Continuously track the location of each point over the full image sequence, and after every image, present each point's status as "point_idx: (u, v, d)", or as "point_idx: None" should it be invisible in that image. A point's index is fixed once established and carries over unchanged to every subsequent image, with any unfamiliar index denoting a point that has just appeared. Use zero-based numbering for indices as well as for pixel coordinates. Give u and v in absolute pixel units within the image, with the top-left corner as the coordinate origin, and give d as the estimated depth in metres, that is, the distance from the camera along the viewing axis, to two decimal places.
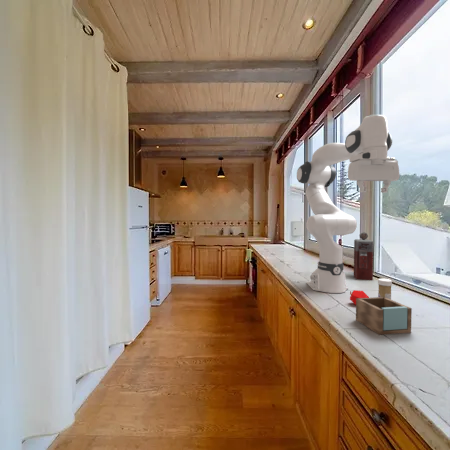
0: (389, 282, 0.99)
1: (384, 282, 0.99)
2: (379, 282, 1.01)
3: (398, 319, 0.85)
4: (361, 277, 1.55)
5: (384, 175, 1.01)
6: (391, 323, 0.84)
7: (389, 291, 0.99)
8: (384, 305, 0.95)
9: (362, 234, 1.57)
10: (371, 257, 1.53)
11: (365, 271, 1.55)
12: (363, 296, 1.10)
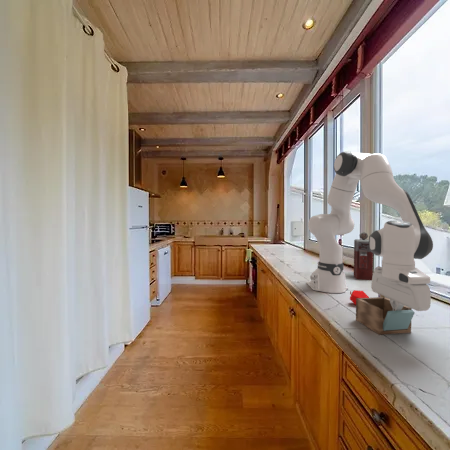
0: None
1: None
2: None
3: (401, 322, 0.83)
4: (361, 277, 1.55)
5: None
6: (393, 325, 0.83)
7: None
8: (384, 305, 0.95)
9: (362, 234, 1.57)
10: (371, 257, 1.53)
11: (365, 271, 1.55)
12: (363, 296, 1.10)
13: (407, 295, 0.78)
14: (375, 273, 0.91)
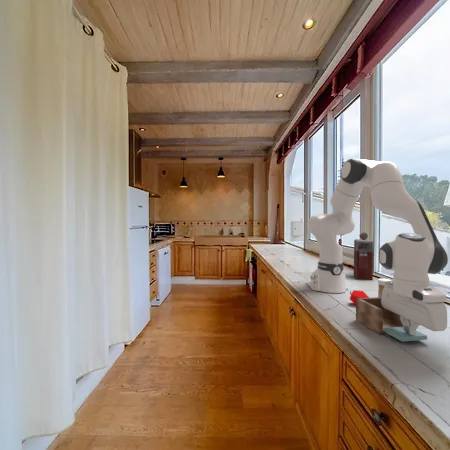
0: None
1: (384, 282, 0.99)
2: (379, 282, 1.01)
3: None
4: (361, 277, 1.55)
5: None
6: None
7: None
8: None
9: (362, 234, 1.57)
10: (371, 257, 1.53)
11: (365, 271, 1.55)
12: (363, 296, 1.10)
13: (421, 314, 0.73)
14: (385, 288, 0.86)
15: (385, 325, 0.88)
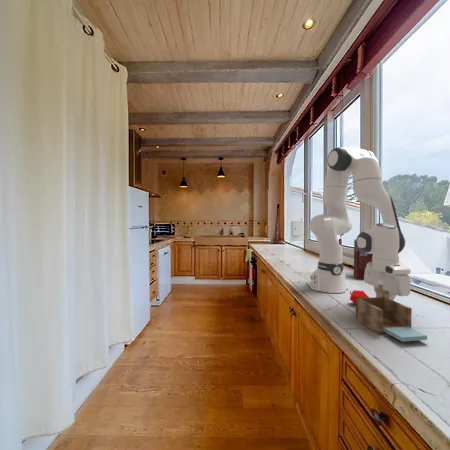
0: None
1: None
2: (379, 282, 1.01)
3: None
4: (361, 277, 1.55)
5: None
6: None
7: None
8: (384, 305, 0.95)
9: None
10: (371, 257, 1.53)
11: None
12: (363, 296, 1.10)
13: (392, 284, 0.95)
14: (367, 267, 1.09)
15: (385, 325, 0.88)
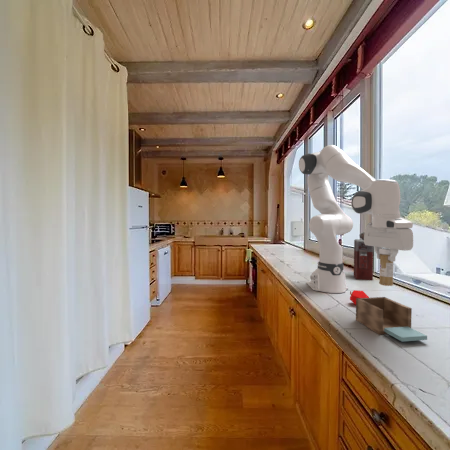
0: None
1: (385, 251, 0.95)
2: (380, 251, 0.97)
3: None
4: (361, 277, 1.55)
5: None
6: None
7: None
8: (384, 305, 0.95)
9: (362, 234, 1.57)
10: (371, 257, 1.53)
11: (365, 271, 1.55)
12: (363, 296, 1.10)
13: (393, 239, 0.90)
14: (367, 228, 1.04)
15: (385, 325, 0.88)
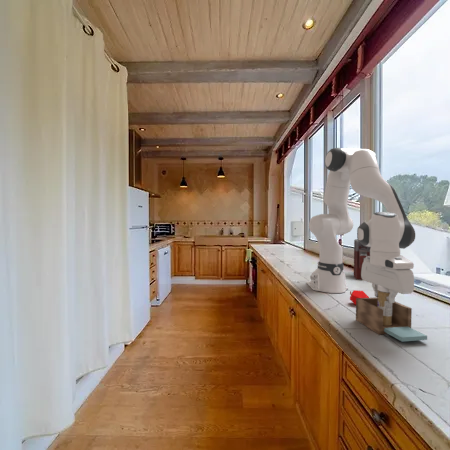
0: None
1: (383, 288, 0.88)
2: (378, 288, 0.90)
3: None
4: (361, 277, 1.55)
5: None
6: None
7: None
8: None
9: None
10: None
11: None
12: (363, 296, 1.10)
13: (393, 280, 0.83)
14: (364, 262, 0.97)
15: None
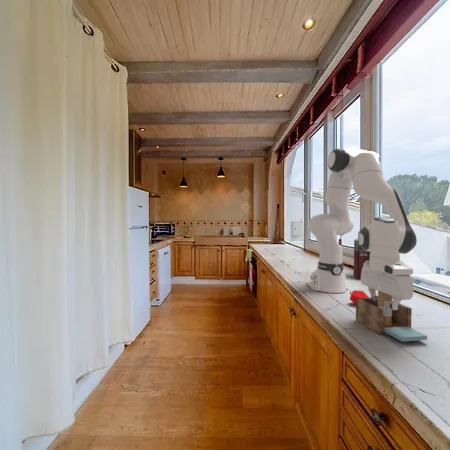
0: None
1: None
2: (378, 288, 0.90)
3: None
4: None
5: None
6: None
7: (389, 298, 0.88)
8: None
9: None
10: None
11: None
12: (363, 296, 1.10)
13: (392, 285, 0.83)
14: (364, 267, 0.97)
15: None
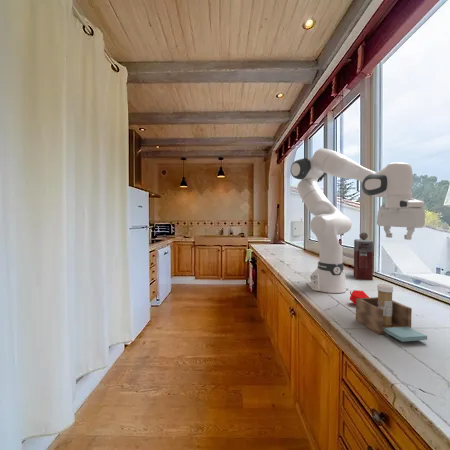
0: (389, 288, 0.87)
1: (383, 288, 0.88)
2: (378, 288, 0.90)
3: None
4: (361, 277, 1.55)
5: None
6: None
7: (389, 298, 0.88)
8: None
9: (362, 234, 1.57)
10: (371, 257, 1.53)
11: (365, 271, 1.55)
12: (363, 296, 1.10)
13: (406, 218, 0.97)
14: (380, 209, 1.11)
15: None
